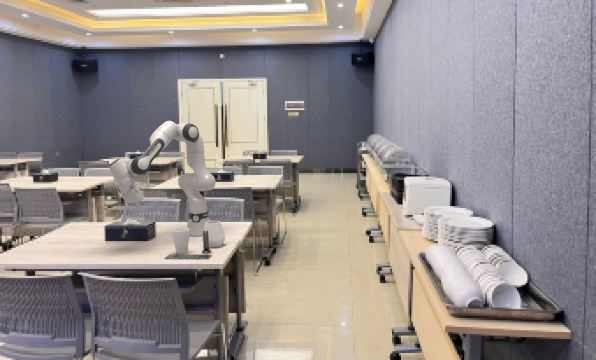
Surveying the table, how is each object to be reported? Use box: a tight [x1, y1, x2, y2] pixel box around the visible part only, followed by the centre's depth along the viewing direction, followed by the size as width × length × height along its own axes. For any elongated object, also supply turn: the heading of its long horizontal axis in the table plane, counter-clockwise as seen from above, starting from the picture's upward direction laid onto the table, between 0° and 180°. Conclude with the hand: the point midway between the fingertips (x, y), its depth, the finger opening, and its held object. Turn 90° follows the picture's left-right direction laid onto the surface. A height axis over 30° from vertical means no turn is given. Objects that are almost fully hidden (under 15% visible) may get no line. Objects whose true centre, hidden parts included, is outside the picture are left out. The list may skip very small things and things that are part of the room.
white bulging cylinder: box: [201, 220, 226, 249], centre depth 303 cm, size 13×13×14 cm
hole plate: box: [164, 253, 213, 260], centre depth 280 cm, size 7×24×1 cm, turn 83°
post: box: [201, 231, 212, 255], centre depth 288 cm, size 5×5×12 cm
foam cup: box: [171, 227, 190, 254], centre depth 289 cm, size 10×9×13 cm
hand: (139, 208), depth 298 cm, fingers closed
